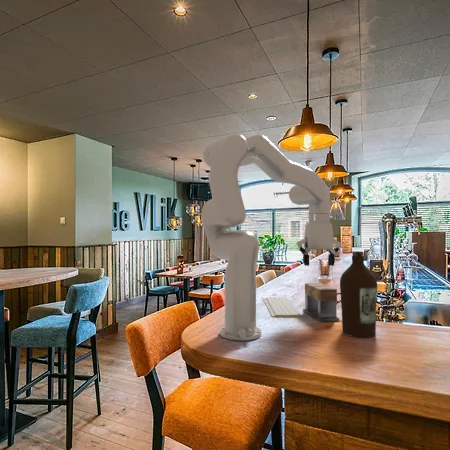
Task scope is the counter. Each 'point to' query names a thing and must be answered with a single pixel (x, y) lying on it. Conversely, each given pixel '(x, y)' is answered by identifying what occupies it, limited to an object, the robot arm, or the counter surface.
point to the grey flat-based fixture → (320, 309)
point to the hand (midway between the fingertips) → (318, 265)
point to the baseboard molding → (281, 307)
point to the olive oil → (358, 299)
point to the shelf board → (321, 292)
